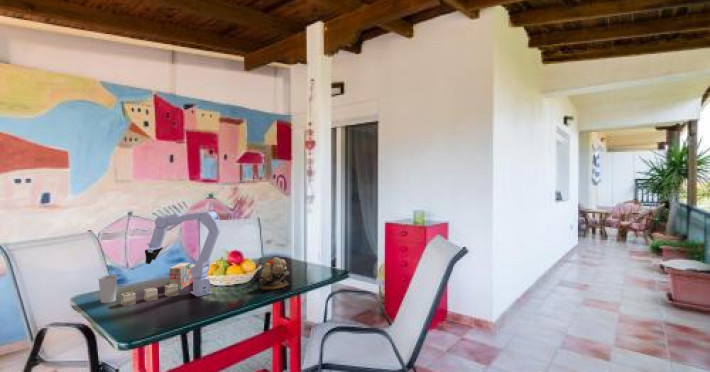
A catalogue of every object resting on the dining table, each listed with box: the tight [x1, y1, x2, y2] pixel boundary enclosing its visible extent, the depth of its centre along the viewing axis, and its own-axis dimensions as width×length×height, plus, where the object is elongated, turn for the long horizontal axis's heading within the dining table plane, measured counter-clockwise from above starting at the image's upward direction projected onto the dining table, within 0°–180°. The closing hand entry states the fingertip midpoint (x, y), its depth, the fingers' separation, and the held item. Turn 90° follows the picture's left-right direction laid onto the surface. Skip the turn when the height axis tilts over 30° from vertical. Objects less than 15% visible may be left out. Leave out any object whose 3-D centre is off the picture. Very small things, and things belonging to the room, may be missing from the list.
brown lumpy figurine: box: [259, 256, 290, 291], centre depth 211 cm, size 18×12×17 cm, turn 134°
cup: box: [98, 274, 118, 304], centre depth 186 cm, size 8×8×12 cm
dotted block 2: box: [164, 283, 179, 298], centre depth 196 cm, size 5×5×5 cm
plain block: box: [143, 287, 159, 302], centre depth 189 cm, size 5×5×5 cm
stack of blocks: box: [169, 262, 195, 291], centre depth 215 cm, size 21×6×12 cm, turn 179°
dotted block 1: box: [120, 291, 137, 307], centre depth 182 cm, size 5×5×5 cm
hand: (150, 261), depth 199 cm, fingers open, 7 cm apart
